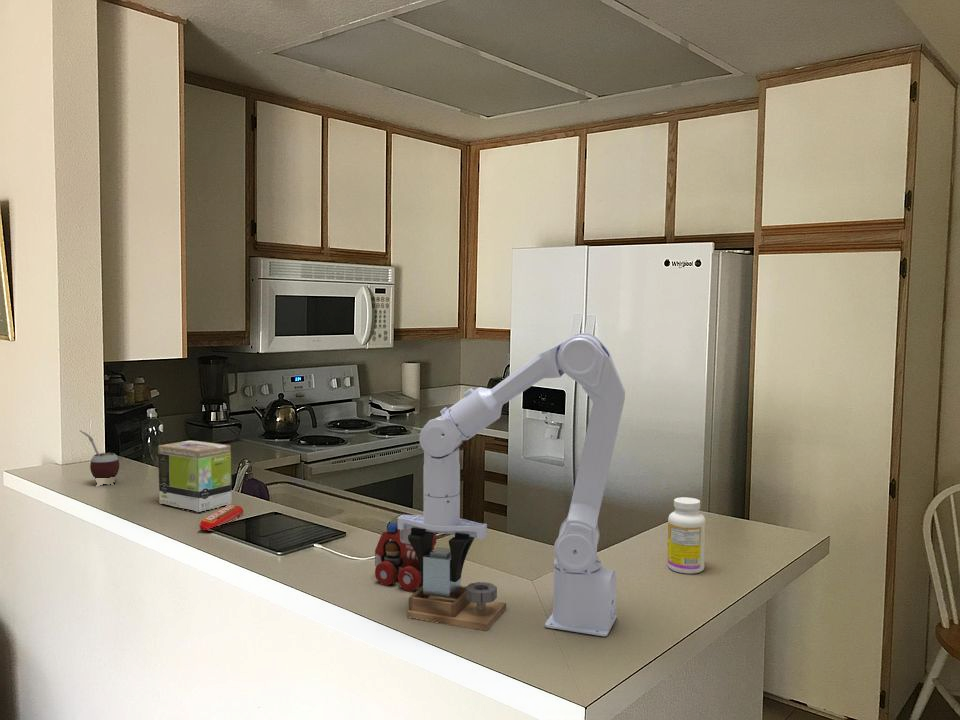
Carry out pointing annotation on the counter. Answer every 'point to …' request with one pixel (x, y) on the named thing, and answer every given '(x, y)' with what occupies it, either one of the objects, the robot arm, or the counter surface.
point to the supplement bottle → (686, 537)
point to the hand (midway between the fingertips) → (441, 577)
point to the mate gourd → (103, 463)
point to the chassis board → (455, 610)
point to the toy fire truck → (398, 559)
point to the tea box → (195, 474)
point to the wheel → (481, 592)
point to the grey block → (439, 574)
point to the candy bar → (221, 516)
